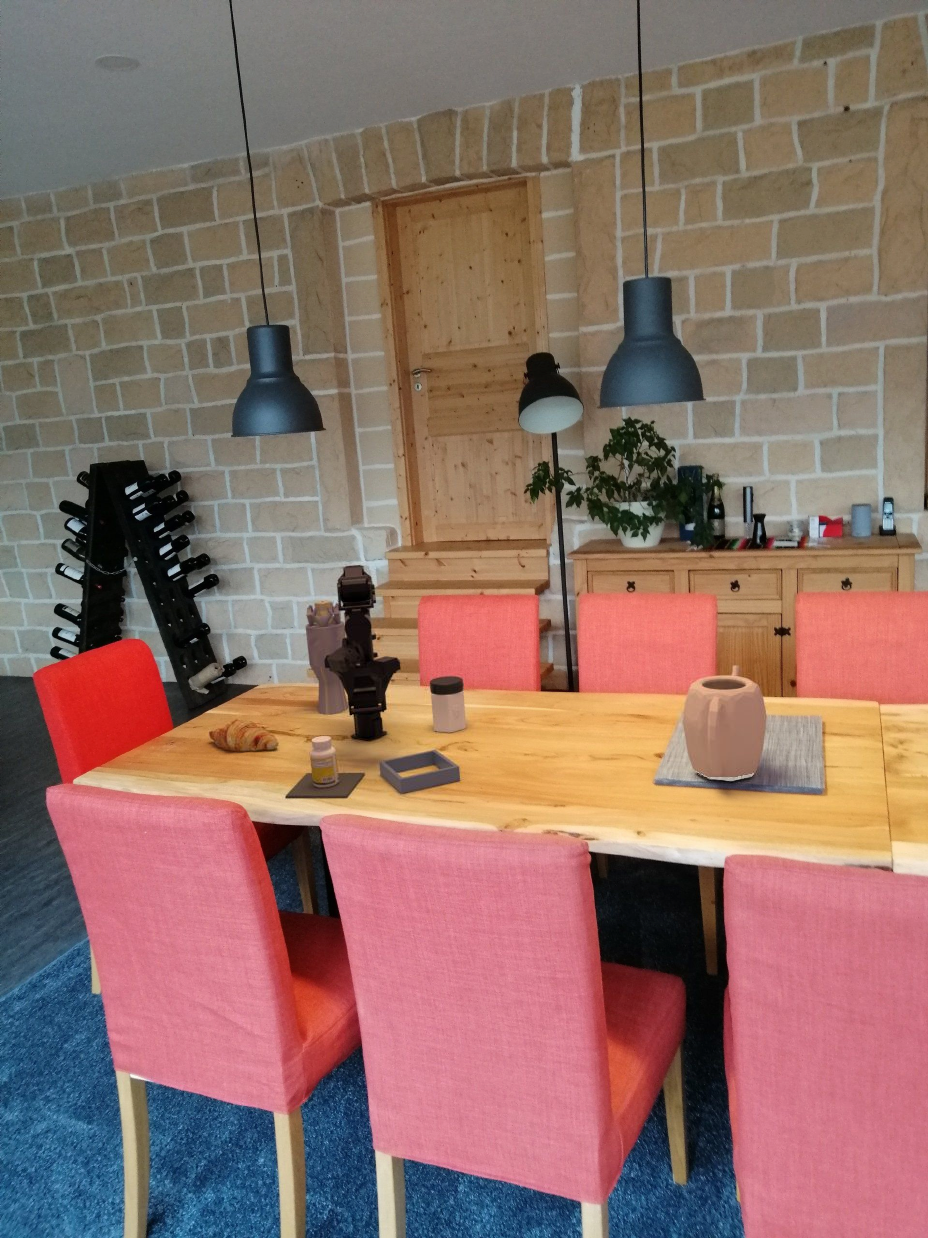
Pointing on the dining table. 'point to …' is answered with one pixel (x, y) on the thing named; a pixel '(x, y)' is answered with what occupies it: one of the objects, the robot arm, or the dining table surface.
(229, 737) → the croissant
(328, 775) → the supplement bottle
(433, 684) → the jar
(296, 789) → the mat
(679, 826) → the dining table surface
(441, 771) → the grey square frame
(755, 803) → the dining table surface
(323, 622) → the vase
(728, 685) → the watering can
